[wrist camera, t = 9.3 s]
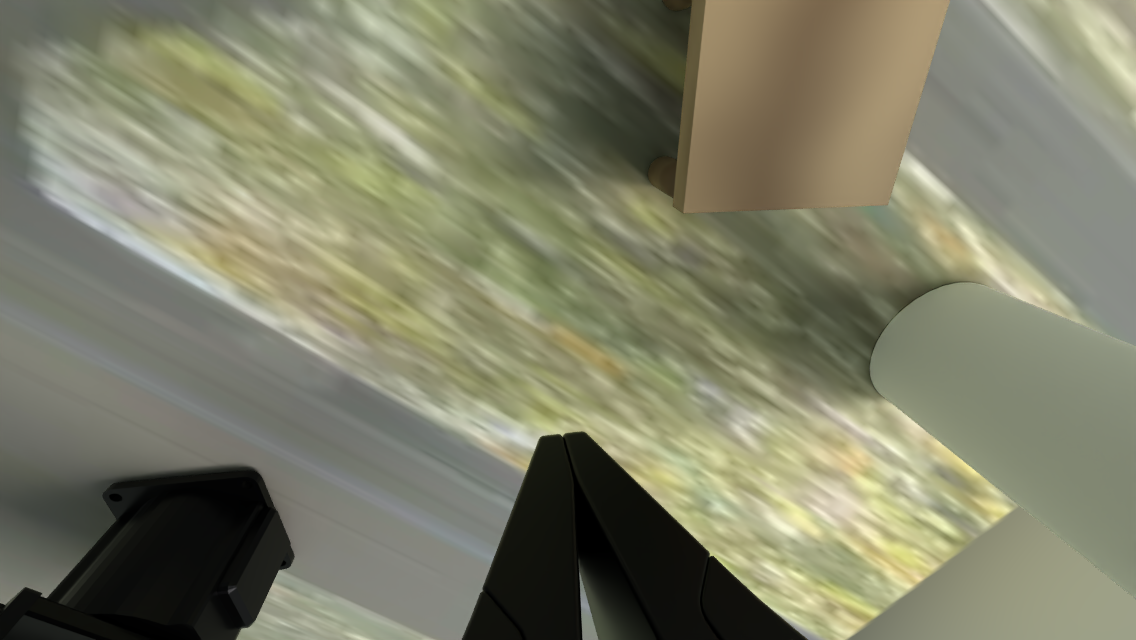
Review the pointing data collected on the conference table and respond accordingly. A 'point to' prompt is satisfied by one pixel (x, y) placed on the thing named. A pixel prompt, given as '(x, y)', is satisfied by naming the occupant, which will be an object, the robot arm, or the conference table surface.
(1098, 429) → the cylindrical container
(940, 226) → the conference table surface
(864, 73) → the stool
